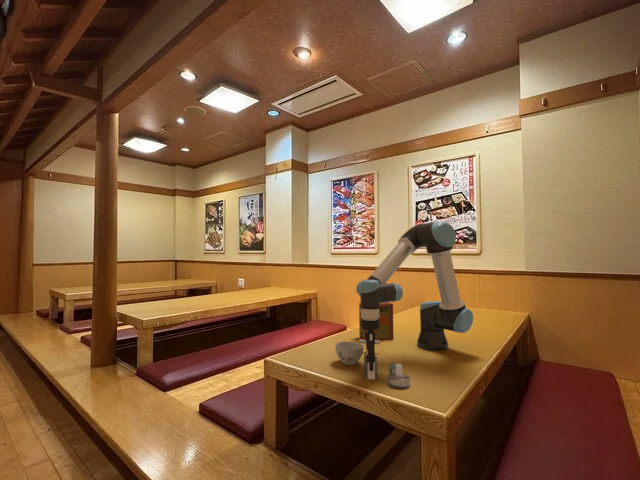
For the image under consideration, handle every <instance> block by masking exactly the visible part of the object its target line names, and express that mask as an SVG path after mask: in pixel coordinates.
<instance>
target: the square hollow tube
mask: <svg viewBox="0 0 640 480" xmlns="http://www.w3.org/2000/svg"><path fill="white" fill-rule="evenodd" d="M370 359H373V358H370ZM366 360H368V355H366V354H364V355H363V376H364V378H368V362H366ZM376 378H378V356H377V355H376V354H375V379H376Z"/></svg>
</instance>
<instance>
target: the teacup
mask: <svg viewBox="0 0 640 480" xmlns="http://www.w3.org/2000/svg"><path fill="white" fill-rule="evenodd" d="M334 346H335V352H336V353H335V354H336V355H337V358H338V359H339V360H340V362H341V363H342V364H343V365H347V366H353V365H354V366H355V365H356V364H357V363H358V362H359V361H360V359H361V357H362V356H363V353H364V345H363V343H359V342H357V341H339V342H337V343H336V344H335V345H334Z"/></svg>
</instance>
